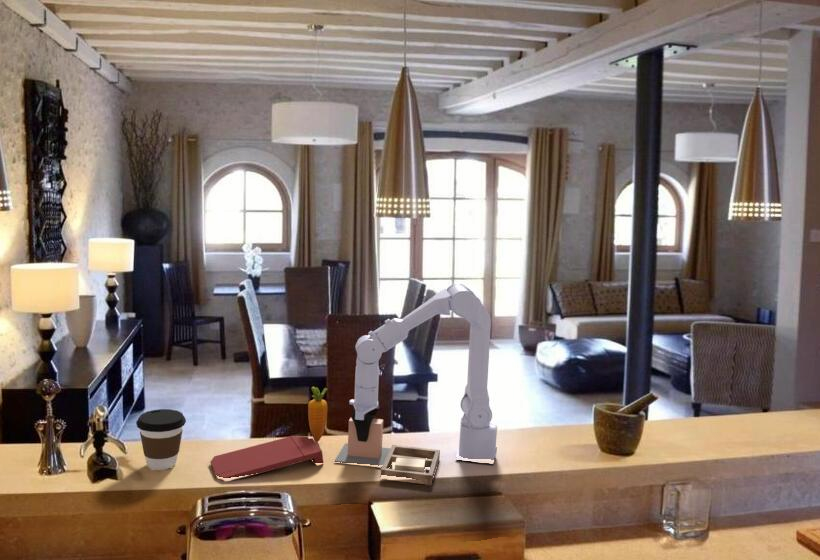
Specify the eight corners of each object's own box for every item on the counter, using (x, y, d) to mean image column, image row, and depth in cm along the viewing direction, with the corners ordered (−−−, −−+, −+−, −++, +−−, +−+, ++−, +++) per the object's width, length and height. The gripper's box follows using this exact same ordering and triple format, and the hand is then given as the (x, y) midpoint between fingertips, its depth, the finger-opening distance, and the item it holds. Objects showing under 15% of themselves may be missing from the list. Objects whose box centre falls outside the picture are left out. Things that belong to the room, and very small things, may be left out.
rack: (439, 459, 194) (439, 450, 194) (431, 485, 180) (432, 475, 179) (391, 454, 196) (392, 444, 196) (380, 479, 181) (380, 469, 181)
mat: (391, 450, 198) (391, 448, 198) (383, 468, 187) (383, 466, 187) (345, 445, 200) (345, 443, 200) (334, 463, 189) (334, 460, 189)
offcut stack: (424, 472, 187) (425, 458, 187) (425, 482, 182) (426, 467, 181) (391, 470, 187) (392, 456, 186) (390, 480, 182) (391, 465, 181)
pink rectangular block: (381, 453, 194) (383, 419, 193) (379, 458, 191) (381, 424, 190) (350, 450, 195) (351, 416, 194) (347, 455, 192) (348, 420, 191)
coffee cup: (130, 461, 184) (129, 413, 182) (175, 452, 190) (175, 405, 188) (146, 479, 175) (145, 428, 173) (193, 468, 182) (193, 419, 180)
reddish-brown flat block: (221, 498, 177) (326, 468, 186) (217, 478, 175) (324, 450, 185) (211, 476, 188) (311, 449, 197) (208, 457, 186) (309, 431, 196)
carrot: (328, 439, 203) (330, 384, 200) (324, 446, 198) (326, 390, 195) (309, 437, 203) (311, 382, 201) (304, 445, 199) (306, 388, 196)
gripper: (357, 374, 198) (355, 425, 200) (343, 392, 184) (341, 447, 186) (384, 377, 197) (382, 428, 199) (373, 395, 183) (370, 450, 185)
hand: (364, 437), depth 193 cm, fingers open, 4 cm apart
